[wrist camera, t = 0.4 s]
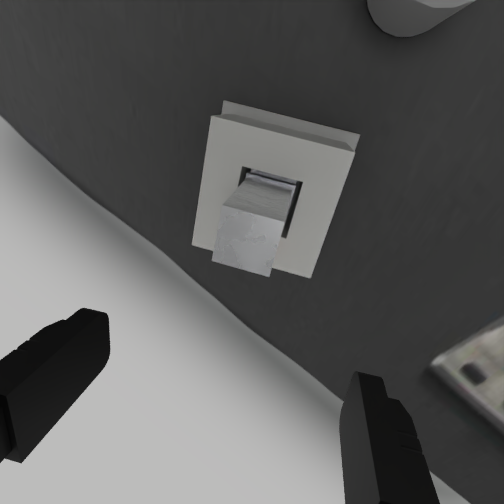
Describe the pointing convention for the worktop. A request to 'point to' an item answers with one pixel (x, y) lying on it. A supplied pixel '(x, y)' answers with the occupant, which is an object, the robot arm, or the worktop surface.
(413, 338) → the worktop surface
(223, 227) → the column
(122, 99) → the worktop surface
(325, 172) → the stand base
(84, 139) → the worktop surface
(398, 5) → the can
